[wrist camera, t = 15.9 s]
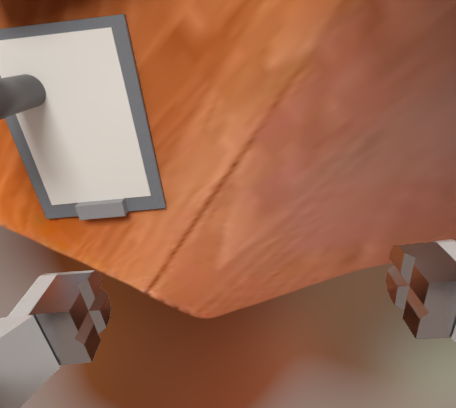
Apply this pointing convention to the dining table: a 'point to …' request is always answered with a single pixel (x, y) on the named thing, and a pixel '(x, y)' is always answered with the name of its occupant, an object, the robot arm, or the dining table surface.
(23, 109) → the marker
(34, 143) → the clipboard
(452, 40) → the dining table surface
